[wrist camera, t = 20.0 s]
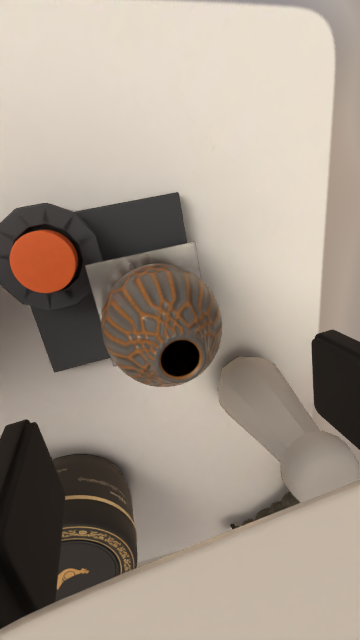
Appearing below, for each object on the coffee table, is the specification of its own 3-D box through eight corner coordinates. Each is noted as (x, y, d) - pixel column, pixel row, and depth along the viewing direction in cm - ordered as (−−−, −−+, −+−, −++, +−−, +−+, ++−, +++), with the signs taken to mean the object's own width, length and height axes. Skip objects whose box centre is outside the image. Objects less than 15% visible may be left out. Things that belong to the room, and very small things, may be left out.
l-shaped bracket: (46, 369, 26) (39, 388, 23) (-11, 215, 21) (-28, 216, 19) (199, 329, 27) (210, 342, 25) (173, 181, 23) (183, 177, 21)
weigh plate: (113, 364, 23) (113, 366, 23) (84, 264, 21) (84, 265, 21) (209, 339, 25) (211, 340, 24) (193, 241, 22) (195, 241, 22)
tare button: (29, 291, 21) (22, 299, 19) (9, 235, 20) (-1, 238, 18) (84, 279, 22) (83, 285, 20) (68, 224, 20) (65, 225, 18)
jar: (-10, 506, 28) (-47, 604, 21) (68, 426, 27) (56, 500, 20) (82, 548, 32) (76, 645, 25) (152, 479, 31) (167, 557, 24)
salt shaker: (197, 373, 29) (267, 488, 17) (249, 334, 29) (356, 421, 17) (231, 415, 31) (313, 543, 19) (279, 378, 31) (392, 483, 19)
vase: (153, 234, 21) (185, 247, 13) (219, 305, 24) (280, 353, 15) (79, 309, 21) (65, 367, 13) (151, 371, 24) (177, 451, 16)
